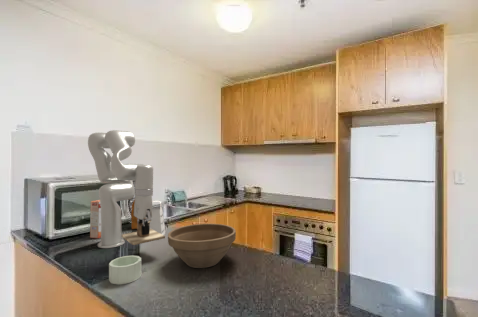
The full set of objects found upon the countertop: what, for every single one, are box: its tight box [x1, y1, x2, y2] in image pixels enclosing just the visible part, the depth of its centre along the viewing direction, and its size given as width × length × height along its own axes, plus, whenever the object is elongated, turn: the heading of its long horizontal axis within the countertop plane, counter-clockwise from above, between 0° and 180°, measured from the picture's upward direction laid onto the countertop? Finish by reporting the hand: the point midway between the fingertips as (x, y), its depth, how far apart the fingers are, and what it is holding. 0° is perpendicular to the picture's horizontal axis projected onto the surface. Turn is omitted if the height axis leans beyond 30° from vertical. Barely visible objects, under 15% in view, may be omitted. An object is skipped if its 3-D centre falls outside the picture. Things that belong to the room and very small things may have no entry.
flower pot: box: [167, 223, 237, 269], centre depth 108 cm, size 28×28×13 cm
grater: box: [145, 200, 166, 236], centre depth 146 cm, size 10×10×20 cm
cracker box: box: [89, 199, 101, 239], centre depth 149 cm, size 14×6×21 cm, turn 168°
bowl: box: [108, 255, 143, 285], centre depth 94 cm, size 11×11×6 cm
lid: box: [121, 223, 166, 246], centre depth 113 cm, size 14×14×6 cm
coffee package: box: [130, 198, 138, 230], centre depth 164 cm, size 10×12×22 cm
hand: (143, 232), depth 113 cm, fingers closed on lid, 4 cm apart
